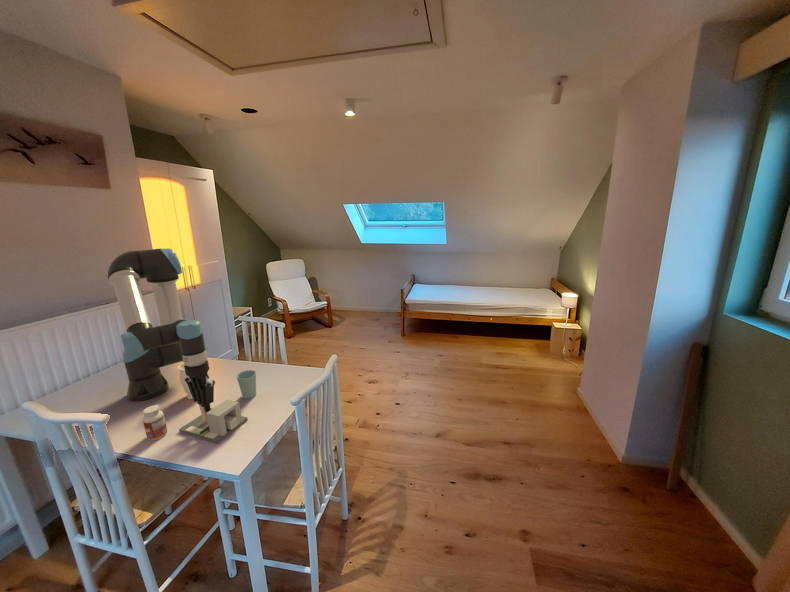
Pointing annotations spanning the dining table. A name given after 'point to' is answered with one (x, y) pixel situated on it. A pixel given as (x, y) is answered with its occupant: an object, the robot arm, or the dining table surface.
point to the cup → (247, 383)
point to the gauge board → (204, 425)
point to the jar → (182, 379)
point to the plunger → (229, 421)
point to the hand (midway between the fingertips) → (207, 418)
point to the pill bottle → (154, 423)
